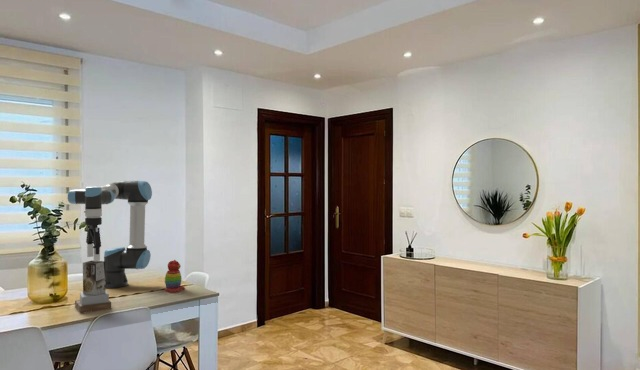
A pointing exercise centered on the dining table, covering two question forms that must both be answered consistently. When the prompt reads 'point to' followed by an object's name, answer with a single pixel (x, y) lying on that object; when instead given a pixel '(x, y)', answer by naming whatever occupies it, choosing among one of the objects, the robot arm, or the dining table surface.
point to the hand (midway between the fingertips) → (93, 258)
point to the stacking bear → (173, 278)
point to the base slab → (91, 306)
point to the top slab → (94, 298)
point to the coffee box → (94, 277)
